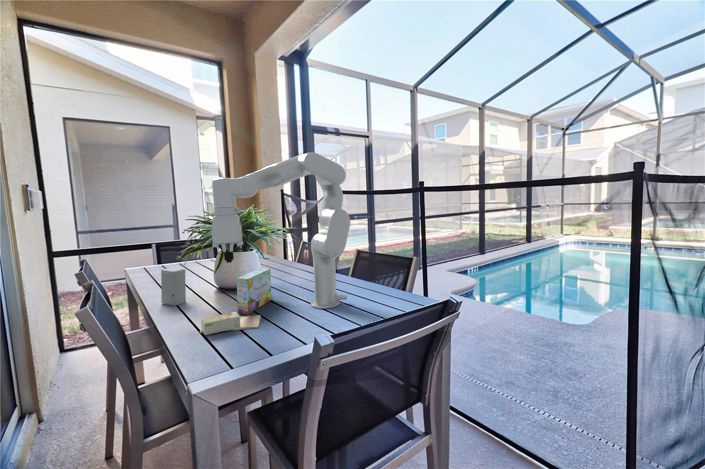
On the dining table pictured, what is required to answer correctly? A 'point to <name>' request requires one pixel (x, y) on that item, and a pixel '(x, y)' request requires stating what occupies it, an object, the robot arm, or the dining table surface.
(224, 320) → the skincare box
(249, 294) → the snack box
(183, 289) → the skincare box
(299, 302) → the dining table surface
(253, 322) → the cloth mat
